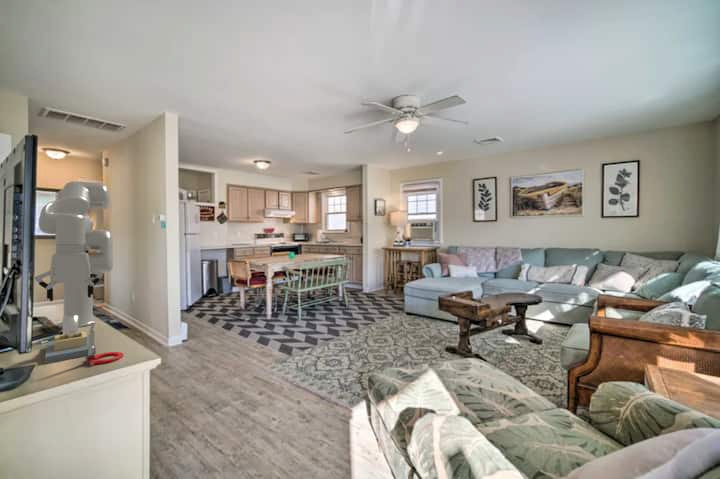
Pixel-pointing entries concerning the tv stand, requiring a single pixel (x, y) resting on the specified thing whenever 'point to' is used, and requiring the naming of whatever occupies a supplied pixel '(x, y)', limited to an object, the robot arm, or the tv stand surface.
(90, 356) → the tow hook
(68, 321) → the pipe nipple
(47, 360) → the manifold plate
